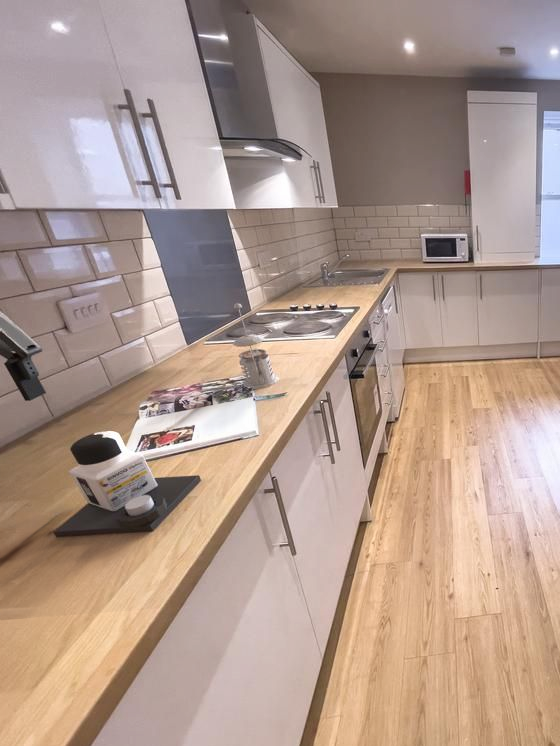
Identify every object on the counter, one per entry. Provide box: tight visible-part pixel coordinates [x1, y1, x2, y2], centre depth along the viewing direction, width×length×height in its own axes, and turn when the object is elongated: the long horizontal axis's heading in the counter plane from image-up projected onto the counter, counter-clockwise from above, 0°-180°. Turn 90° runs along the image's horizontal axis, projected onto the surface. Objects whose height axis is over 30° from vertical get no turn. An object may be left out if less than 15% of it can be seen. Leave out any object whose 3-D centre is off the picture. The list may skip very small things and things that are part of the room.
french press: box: [232, 302, 280, 390], centre depth 122 cm, size 10×12×25 cm
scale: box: [52, 474, 202, 538], centre depth 77 cm, size 16×14×3 cm
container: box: [68, 430, 157, 511], centre depth 76 cm, size 8×8×13 cm
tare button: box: [125, 495, 154, 516], centre depth 73 cm, size 4×4×2 cm
